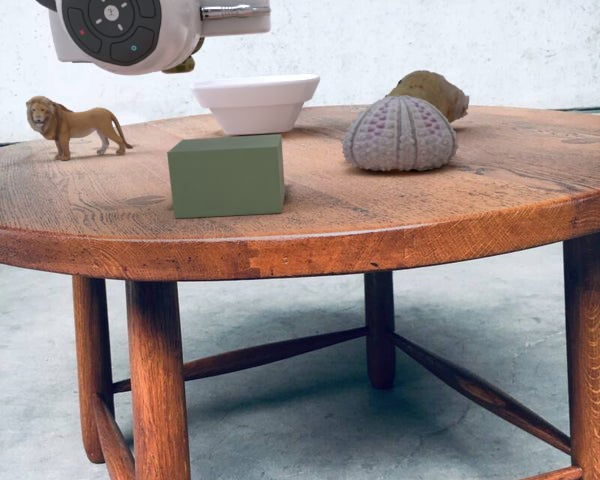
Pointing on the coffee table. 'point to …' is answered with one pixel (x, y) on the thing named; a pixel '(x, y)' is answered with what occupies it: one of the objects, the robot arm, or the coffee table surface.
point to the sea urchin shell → (400, 136)
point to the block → (227, 176)
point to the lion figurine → (73, 125)
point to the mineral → (434, 93)
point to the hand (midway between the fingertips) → (173, 19)
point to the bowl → (256, 101)
